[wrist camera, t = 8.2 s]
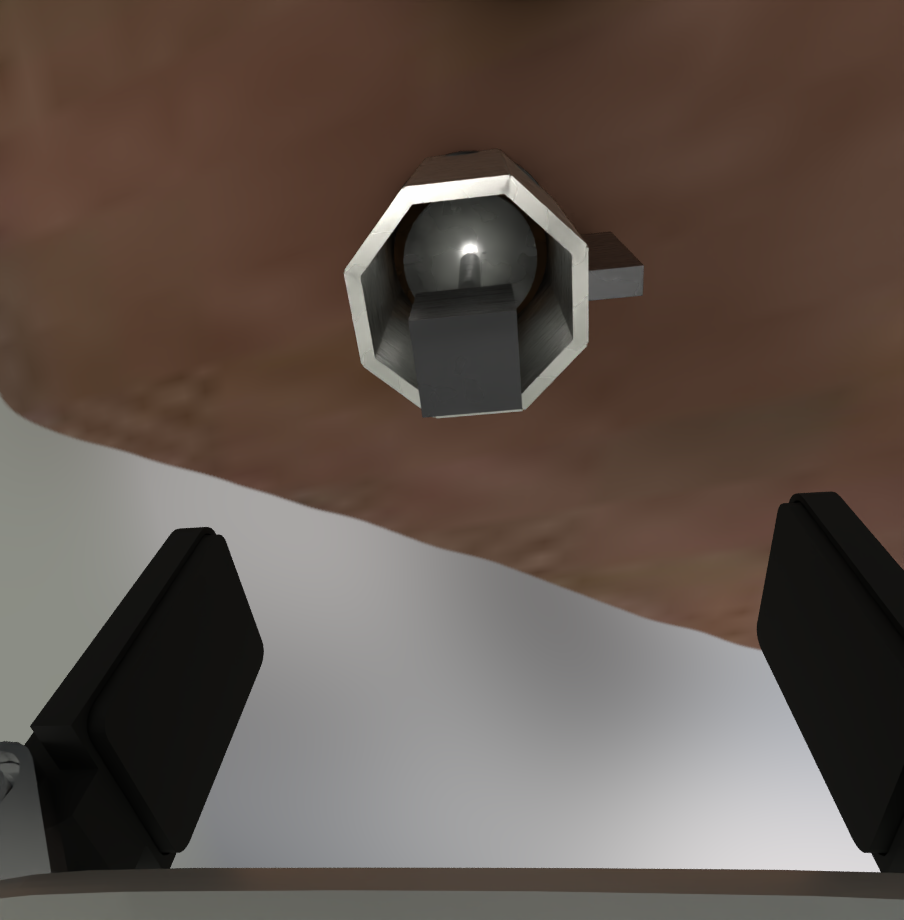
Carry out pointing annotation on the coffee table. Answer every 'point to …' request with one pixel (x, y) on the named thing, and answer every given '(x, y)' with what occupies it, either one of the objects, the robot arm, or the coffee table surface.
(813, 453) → the coffee table surface
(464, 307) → the plunger
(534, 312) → the press carafe
